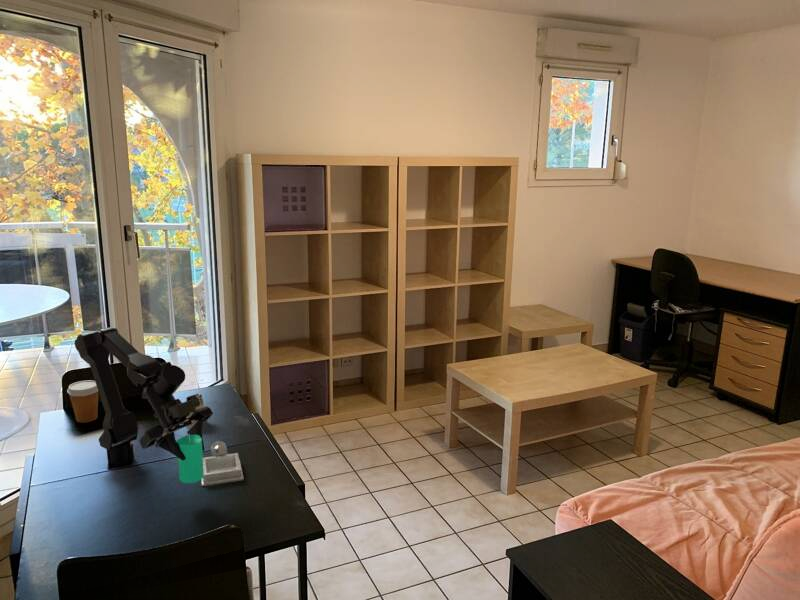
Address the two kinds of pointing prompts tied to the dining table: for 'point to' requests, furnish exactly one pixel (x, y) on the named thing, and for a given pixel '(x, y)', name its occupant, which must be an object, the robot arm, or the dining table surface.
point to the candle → (191, 459)
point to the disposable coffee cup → (84, 400)
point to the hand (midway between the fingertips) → (193, 455)
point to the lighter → (198, 406)
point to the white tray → (221, 466)
